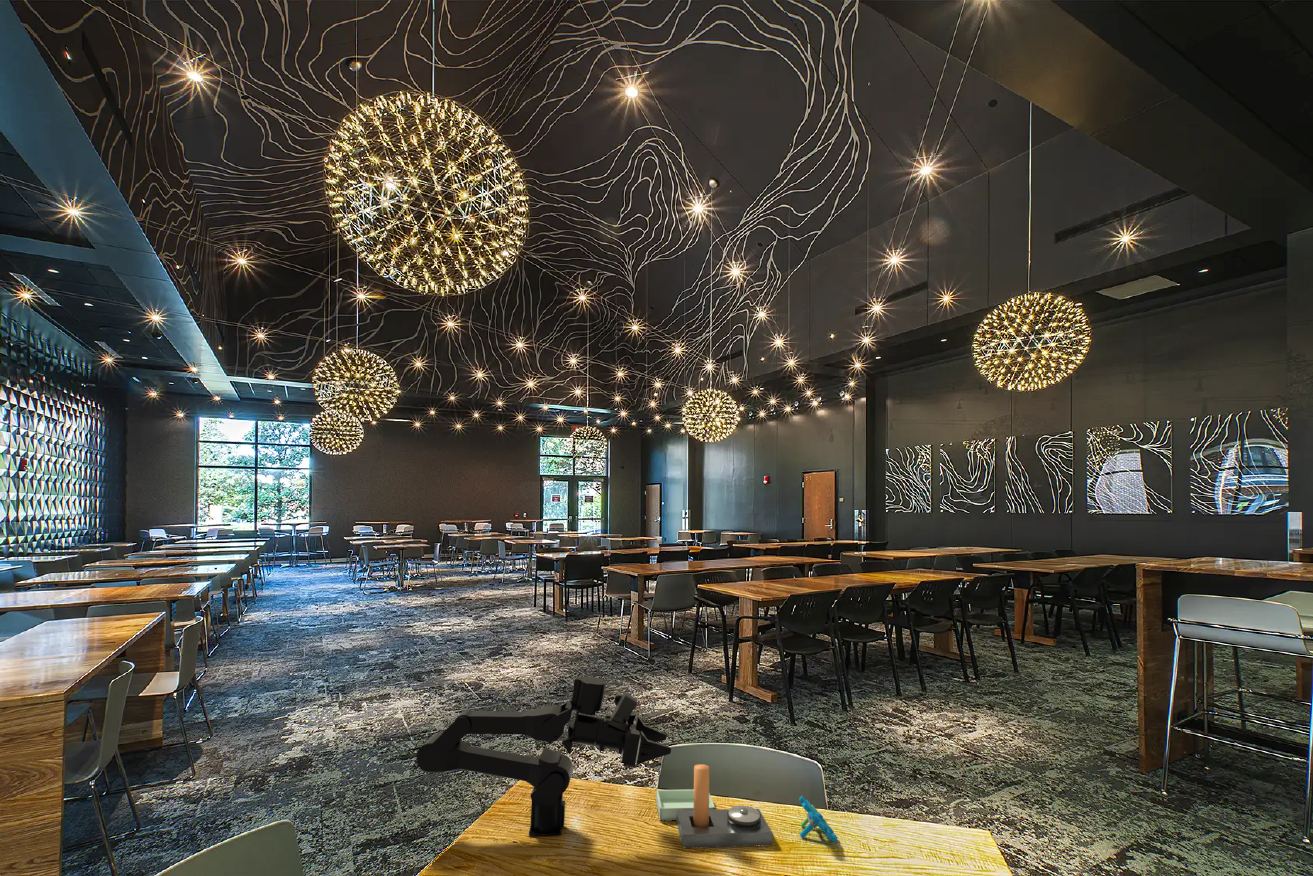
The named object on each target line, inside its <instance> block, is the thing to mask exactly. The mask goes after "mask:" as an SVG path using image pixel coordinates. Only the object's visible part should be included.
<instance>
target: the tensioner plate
mask: <svg viewBox="0 0 1313 876" xmlns="http://www.w3.org/2000/svg"><path fill="white" fill-rule="evenodd" d="M693 823H694V810H677V821H676V825H677V826H678V827H677V831H678V830H679V831H678V834H680V835H679V839H680V838H681V839H680V842H682V843H681V847H682V846H683V847H694V848H693V849H697V848H696V847H698V849H700V848H699V847H702V848H703V847H708V848H738V847H737V846H747V847H762V846H761V845H764V846H763V847H766V846H765V845H772V846H773V831H772V829H771V828H770V826H769V825H768V822H767V820H766V819H765V817H764V815H763V814H762V811H761V810H760V808H754V807H753V806H748V805H734V806H731V807H730V808H728V809H725V808H724V809H715V810H709V827H693ZM756 845H757V846H756ZM758 845H760V846H758ZM734 846H736V847H734ZM683 847H682V848H683Z"/></svg>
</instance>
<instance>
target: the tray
mask: <svg viewBox="0 0 1313 876" xmlns="http://www.w3.org/2000/svg"><path fill="white" fill-rule="evenodd" d="M655 792H656V794H655V801H656V802H655V804H656V803H657V804H656V808H658V809H657V813H659V814H658V818H660V819H659V821H660V820H662V821H661V822H673V821H672V820H677V810H694V788H692V789H656V791H655ZM709 810H716V807H715V804H714V801H713V798H712V796H711V794H710V793H709ZM664 820H665V821H664Z"/></svg>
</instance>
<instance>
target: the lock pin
mask: <svg viewBox="0 0 1313 876" xmlns="http://www.w3.org/2000/svg"><path fill="white" fill-rule="evenodd" d="M693 789H694V823H693V827H709V794H710V766H709V765H707V764H700V763H699V764H695V765H694V767H693Z"/></svg>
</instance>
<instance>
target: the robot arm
mask: <svg viewBox="0 0 1313 876" xmlns="http://www.w3.org/2000/svg"><path fill="white" fill-rule="evenodd" d="M606 685H607V681H606V680H605V679H603V678H601V677H600V678H599V677H596V676H584V677H579V676H576V677H575V679H574V682H573V690H572V695H571V699H570V700H569V701H566V702H565V703H563V704H561V705H557V704H553V705H547V706H541V707H538V708H534V709H531V710H527V711H510V710H509V711H500V710H499V711H497V710H495V711H494V710H493V711H492V710H491V711H490V710H484V711H483V710H472V709H466V710H463V711H462V712H461V713H460V714H459V715H458V716H457V717H456V718H455V720H454V721H453V722H452V723H451V724H450V725H449V726H448V727H447V728H446V729H445V730H444V731H443V732H441V731H439V732H436V733H435V734H433V735H431V736H430V738H429V739H427V741H425V742H424V743H423V744H422V745H421V746H420V748H419V749H418V751H417V753H416V762H417V763H416V764H417V765H418V767H419V770H421V771H422V772H424V773H428V774H429V773H430V774H432V773H433V774H434V773H439V774H440V773H447V772H452V771H457V770H460V771H461V770H463V771H468V772H472V773H473V772H474V773H479V774H484V775H489V776H495V777H502V778H507V779H511V780H518V781H523V782H526V783H528V784H529V785H530V786H532V787H533V788H532V790H531V793H530V795H529V796H530V800H531V804H530V805H531V806H530V807H531V808H530V809H531V810H530V827H529V830H528V836H530V837H533V836H534V837H535V836H536V837H537V836H538V837H539V836H560V835H562V828H563V829H564V827H565V821H566V819H565V818H566V801H565V800H563V799H564V793H565V792H566V790H567V789H568V788H569V785H570V783H571V780H572V775H573V772H574V764H573V762H572V760H571V759H570V757H569V756H568V755H566V754H563V750H558V751H556V750H555V751H554V750H552V749H549V748H543V749H542V751H541V753H540V755H537V756H536V755H535V756H528V755H523V754H517V753H513V752H512V753H511V752H505V751H501V750H496V749H491V748H485V747H479V746H475V745H474V746H473V745H469V744H467V743H465V742H464V741H463V740H462V738H463V737H464V736H466V735H472V734H473V735H521V736H526V737H528V738H530V739H533V740H535V741H541V742H546V743H554V742H556V741H558V740H559V739H560V738H561V737H562V736H563V733H564V731H565V730H566V729H565V728H566V727H568V728H567V733H566V736H565V737H562V738H561V739H562V741H561V745H563V747H564V748H565V750H566V752H567V754H571V753H572V750H573V745H574V744H579V745H582V746H583V745H585V746H590V747H596V748H598V751H601V752H604V751H605V749H608V750H614V751H617V754H618V755H620V757H621V758H620V759H621V762H622V764H623V766H625V767H627V768H632V769H634V768H636V766H639V765H641V764H644V763H646V762H650V761H652V760H655V759H658V758H661V757H664V756H668V755H670V754H671V753H672V747H669V746H668V745H665V744H662V743H659V742H663V741H666V740H667V737H668V736H667V734H666V733H663V732H662V731H660V730H658V729H656V728H653V727H651V726H649V725H647V724H646V723H644V722H643V720H642V719H641V717H640V715H639V714H637V712H636V711H634V710H636V708H637V706H638V701H637V698H636V697H634V696H633V695H632V694H630V692H626V691H623V692H622V693H616V694H615V696H614V698H613V703H614V705H615V707H614V708H613V709H614V710H613V712H612V713H611V714H607V713H606V714H605V715H604V716H603V717H602V716H595V715H596V713H597V712H599V711H601V710H602V706H603V701H604V696H605V691H606ZM574 711H575V712H576V713H575V717H574V718H575V719H574V721H573V720H572V721H571V718H572V716H573V713H574ZM567 724H568V726H567Z"/></svg>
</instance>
